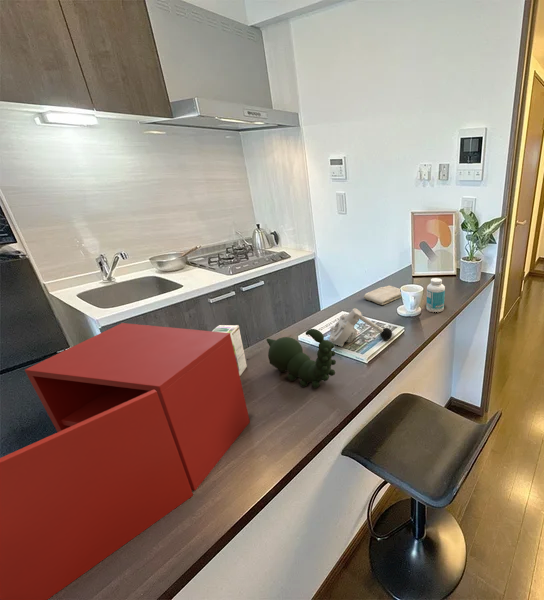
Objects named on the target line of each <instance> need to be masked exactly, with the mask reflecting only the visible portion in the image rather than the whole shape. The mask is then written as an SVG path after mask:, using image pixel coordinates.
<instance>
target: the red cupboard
mask: <svg viewBox="0 0 544 600" xmlns="http://www.w3.org/2000/svg"><path fill="white" fill-rule="evenodd" d="M24 372H25V374H26V376H27V378H28V380H29V381H30V383H31V385H32V387H33V389H34V391H35V393H36V394H37V397H38V399H39V400H40V402H41V404H42V406H43V408H44V410H45V412H46V414H47V415H48V417H49V420H50V421H51V423H52V425H53V426H54V428H55V431H56V433H57V432H60V431H62V430H64V429H66V428H69V427H71V426H73V425H75V424H78V423H80V422H82V421H84V420H87V419H89V418H91V417H93V416H95V415H98V414H100V413H102V412H104V411H107V410H109V409H111V408H113V407H116V406H118V405H120V404H122V403H125V402H127V401H129V400H131V399H133V398H136V397H138V396H140V395H142V394H145V393H147V392H149V391H151V390H155V391H157V394H158V397H159V400H160V403H161V405H162V408H163V411H164V414H165V417H166V420H167V422H168V425H169V428H170V431H171V434H172V437H173V439H174V442H175V445H176V448H177V451H178V454H179V456H180V459H181V462H182V465H183V468H184V471H185V473H186V476H187V479H188V482H189V485H190V488H191V490H192V491H196V490H197V489H198V488H199V487H200V486H201V485H202V483H203V482H204V481H205V479H206V478H207V476H209V474H210V473H211V472H212V470H213V469H214V468H215V467H216V465H217V464H218V463H219V461H220V460H221V459H222V458H223V456H224V455H225V454H226V453H227V451H228V450H229V449H230V447H231V446H233V444H234V442H235V441H236V440H237V439H238V438H239V436H240V435H241V434H242V432H243V431H244V430H245V429H246V427H247V426H248V425H249V424H250V423H251V420H250V416H249V411H248V407H247V403H246V397H245V394H244V389H243V385H242V381H241V375H239V371H238V367H237V362H236V358H235V353H234V349H233V344H232V340H231V335H230V333H224V332H213V330H212V331H211V330H201V329H191V328H190V329H189V328H181V327H171V326H160V325H159V326H158V325H148V324H137V323H125V322H121V323H119V324H117V325H115V326H112V327H110V328H108V329H107V330H104V331H102V332H101V333H98V334H96V335H94V336H92V337H90V338H88V339H86V340H83V341H82V342H79V343H78V344H75V345H73V346H71V347H69V348H67V349H65V350H63V351H61V352H58V353H57V354H54V355H52V356H50V357H48V358H46V359H44V360H42V361H40V362H38V363H36V364H34V365H32V366H29V367H27V368H25V369H24Z"/></svg>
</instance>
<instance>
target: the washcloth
mask: <svg viewBox="0 0 544 600" xmlns="http://www.w3.org/2000/svg"><path fill="white" fill-rule="evenodd" d="M400 289H401V288H398V287H396V286H393V285H390V284H389V285H386V286H380V287H378V288H375V289H373V290H371V291H369V292H366V293H365V294H364V295H363V299H365V300H367V301H369V302H373V303H375V304H377V305H380V306H385V305H387V304H390V303H391V302H393V301H395V300H399V299H401V298H402V297H401V292H400Z"/></svg>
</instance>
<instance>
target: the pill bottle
mask: <svg viewBox="0 0 544 600" xmlns="http://www.w3.org/2000/svg"><path fill="white" fill-rule="evenodd" d="M445 296H446V286H445V285H444V284H443V279H442V278H439V277H433V278H430V283H429V284H427V286H426V311H428V312H430V313H434V312H435V313H436V312H437V313H441V312H443V311H444V309H445ZM437 313H436V314H437Z"/></svg>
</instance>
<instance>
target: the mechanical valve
mask: <svg viewBox="0 0 544 600" xmlns="http://www.w3.org/2000/svg"><path fill="white" fill-rule="evenodd" d="M359 321H362V322H363V323H365V325H369V327H372V328H373V329H374V330H375V331H377V332H379V334H380V338H381V339H382V340H386V341H387V340H390V339H391V338H392V337H393V332H392V329H391V328H389V327H384V328H383V327H382V328H381V326H379V325H377V324H376V323H375V322H373V321H371V320H370V319H368V318H366V317H365V316H364V315H363V313H362V312H361V311H360V310H359V309H358V308H356V307H355V308H352V309H351V311H349V313H348V314H341V316H340V318H339V319H338V321H336V323H335V325H332V326H331V327H330V329H329V331H330V334H329V341H330V342H331V344H334V345H336V346H337V345H338V347H341V348H343V346H344V345H345V342H346V343H348V344H351V343H352V342H353V341H354V340H355V338H356V336H357V334H358V330H357V329H356V328H355V326H356V324H358V323H359Z"/></svg>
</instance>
